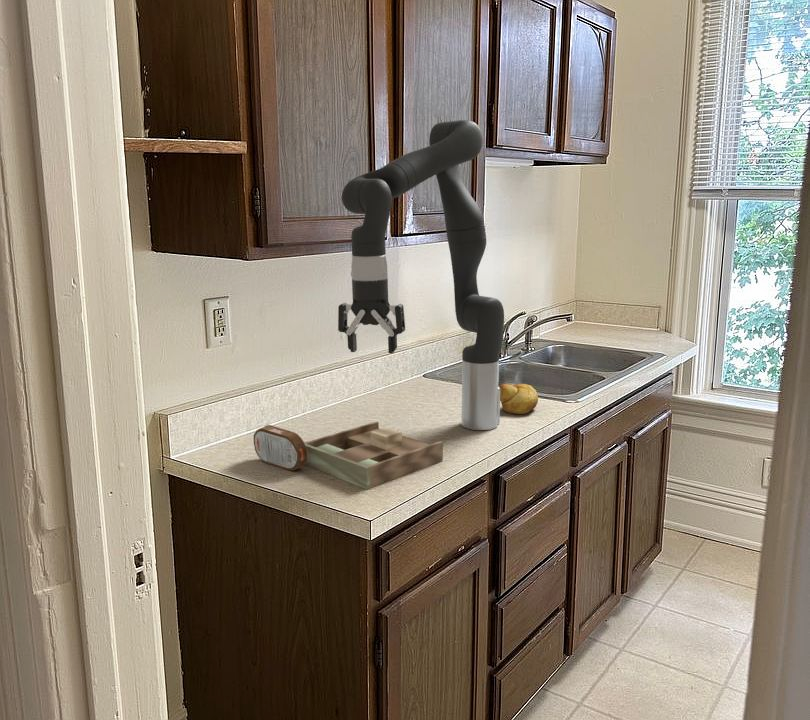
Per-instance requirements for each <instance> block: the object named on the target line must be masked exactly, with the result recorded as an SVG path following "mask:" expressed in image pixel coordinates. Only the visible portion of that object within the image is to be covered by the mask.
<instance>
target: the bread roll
mask: <svg viewBox="0 0 810 720" xmlns="http://www.w3.org/2000/svg"><path fill="white" fill-rule="evenodd" d="M498 387H499V388H500V404H501V408H502V409H503V410H504V411H505V412H507V413H509V414H516V415H517V414H518V415H525V414H527V413H529V412H530V411H532V410H535V408H536V407H537V404H538V401H539V400H538V399H539V395H538V393H537V390H536V389H534V387H533V386H532V385H530V384H527V383H516V384H513V385H511V384H507V383H502V384H500V385H498Z"/></svg>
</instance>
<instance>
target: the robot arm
mask: <svg viewBox="0 0 810 720" xmlns="http://www.w3.org/2000/svg"><path fill="white" fill-rule="evenodd" d="M483 138H484V137H483V133H482V129H481V128H480V127H479V125H478V124H477V123H475V122H474V121H472V120H468V119H460V120H452V121H451V120H450V121H442V122H437V123H436V124H434V125H433V127H432V128H431V129H430V133H429V143H428V144H429V145H428V146H426V147H423V148H420V149H416V150H414V151H411V152H408V153H406V154H403V155H401V156H399V157H397V158H395V159H394V160H391V161H390V162H389V163H387V164H385V165H383V166H382V167H380V168H378V169H376V170H372V171H370V172H369V171H368V172H367V173H364V174H361V175H359V176H355V177H354V178H351V180H349V181H348V182H347V183H346V184H345V186H344V187H343V190H342V193H341V202H342V204H343V206H344V208H345V209H346V210H347V211H348V212H350V213H353V214H356V215H364V218H363V222H362V224H361V225H359V226H356V227H354V228H353V229H352V230H351V235H350V236H351V237H350V238H351V240H350V241H351V265H350V266H351V267H350V268H351V271H350V276H351V287H352V288H351V292H352V303H351V304H348V303H347V302H342V303H341V304H339V305H338V310H337V311H338V312H337V313H338V314H337V315H338V316H337V318H338V319H337V326H338V327H337V331H338V332H339V333H344V334H346V336H347V348H348V350H350V353H355V352H357V350H358V347H357V333H355V332H356V331H357V329H358V328H359V327H360V325H361V324H362V326H368V325H371V326H378V325H380V327H381V328H382V329H384V330H385V332H386V333H387V335H388V336H387V340H388V341H387V344H388V348H387V349H388V351H387V352H388V354H390V355H391V354H392V355H393V354H394V353H395V351H396V350H397V349H398V338H397V336H398V335H400V334H403V333H404V332H405V331H406V322H405V311H404V308H405V307H404V304H402V303H399V304H397V305H396V304H395V305H394V304H391V305H390V302H389V285H388V284H389V281H388V278H389V276H388V261H387V257H386V255H387V254H386V251H387V250H386V233H387V228H388V224H389V219H390V214H391V210H392V204H393V199H395V198H399V197H400V196H402V195H404V194H405V193H408V192H409V191H411V190H413V188H415V187H417V186H418V185H420V184H422V183H423V182H425V181H426V180H429V179H430V178H432V177H434V176H436V180H437V184H438V188H439V192H440V200H441V204H442V209H443V215H444V224H445V230H446V231H445V232H446V238H447V243H448V248H449V254H450V261H451V269H452V276H453V288H454V289H453V292H454V309H455V310H454V312H455V316H456V321H457V324H458V326H459V327H460V328H461V329H462V330H464V331H467V332H471V333H475V334H476V335H475V336H476V337H475V341H474V342H475V343H474V344H472V345H468V346H465V347H463V349H462V352H461V353H462V355H461V358H462V359H461V360H462V361H461V420H460V422H461V423H460V424H461V426H462V428H464V429H468V430H474V431H489V430H493V429H495V428H497V427H498V425H499V424H500V423H501V422H500V421H501V420H500V419H501V418H500V417H501V416H500V415H501V401H500V388H499V383H500V382H499V378H500V376H499V373H500V368H499V367H500V353H501V351H502V347H503V341H504V339H503V338H504V328H505V327H504V326H505V310H504V305H503V304H502V302H501V300H499V299H498V298H495V297H491V296H484V295H480V294H479V288H478V287H479V286H478V279H477V275H478V269H479V266H480V264H481V262H482V258H483V256H484V254H485V251H486V247H487V233H486V228H485V227H486V226H485V219H484V216H483V213H482V210H481V209H480V207H479V205H478V203H477V202H476V201H475V199H474V198H473V197H472V195H471V193H470V192H469V191H468V189H467V187H466V186H465V184H464V182H463V179H462V176H461V171H460V168H459V165H460V164H464V163H466V162H470V161H472V160H474V159H476V157H478V155H479V154H480V152H481V150H482V148H483V141H484V140H483ZM351 312H352V313H353V314H354V316H355V318H354V319H353V321H352V322H351V323H350V325H349V326H348V314H350V313H351ZM390 312H392V315H393V316H394V318H395V326H396V327H395V326H394V324H393V322H392V320H391V319H390V317H388V315H389V313H390Z"/></svg>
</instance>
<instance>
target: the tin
mask: <svg viewBox="0 0 810 720" xmlns="http://www.w3.org/2000/svg"><path fill="white" fill-rule="evenodd" d="M253 446H254V450H255V453H256V456H258V458H259V460H261V461H262V462H264V463H266V464H269V465H272V466H274V467H277V468H281V469H284V470H286V471H291V472H292V471H295V470H298V469H300V468H303V467H304V466H306V465H305V464H306V461H307V449H306V446H305V442H304V440H303V439H302V437H301V436H300V435H299V434H298V433H296V432H294V431H290V430H288V429H284V428H280V427H278V426H275V425H271V424H268V425H264V426H262V427H261V428H258V429H257V430H256V431H255V432H254V434H253Z"/></svg>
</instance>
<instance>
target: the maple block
mask: <svg viewBox="0 0 810 720" xmlns="http://www.w3.org/2000/svg"><path fill="white" fill-rule="evenodd" d="M402 436H403V431H400V430H397V429H394V428H391V427H387V426H385V427H382V428H380V429H379V430H375V431H372V432H371V445H373V446H376V447H379V448H382V449H385V450H387V449H390V448H393V447H396V446H399V445H402Z"/></svg>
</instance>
